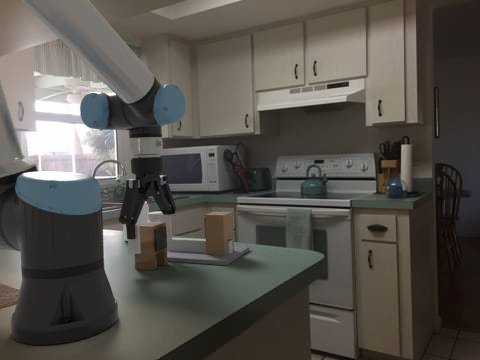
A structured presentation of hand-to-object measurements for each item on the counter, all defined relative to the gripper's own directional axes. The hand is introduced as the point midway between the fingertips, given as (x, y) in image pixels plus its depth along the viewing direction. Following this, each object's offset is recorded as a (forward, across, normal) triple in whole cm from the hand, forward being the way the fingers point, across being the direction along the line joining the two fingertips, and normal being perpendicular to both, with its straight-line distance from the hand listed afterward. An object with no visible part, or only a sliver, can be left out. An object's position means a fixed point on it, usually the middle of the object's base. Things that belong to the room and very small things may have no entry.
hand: (151, 246), depth 98 cm
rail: (+5, +13, -6) cm, 15 cm away
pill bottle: (+5, +20, +11) cm, 23 cm away
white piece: (+5, +27, +23) cm, 36 cm away
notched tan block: (+5, 0, 0) cm, 5 cm away
